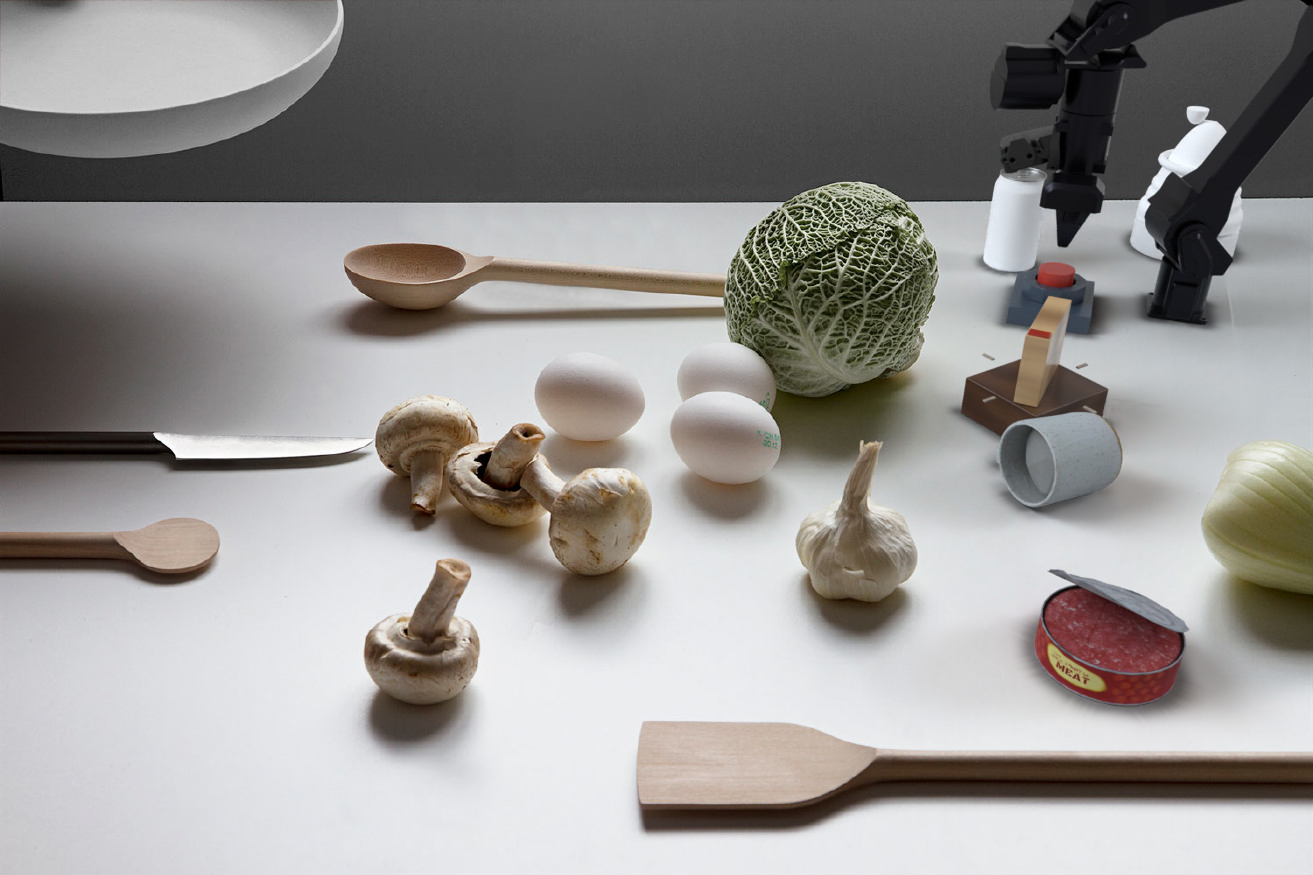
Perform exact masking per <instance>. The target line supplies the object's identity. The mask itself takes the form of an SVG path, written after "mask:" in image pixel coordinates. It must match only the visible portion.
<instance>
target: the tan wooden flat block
mask: <svg viewBox="0 0 1313 875" xmlns="http://www.w3.org/2000/svg"><path fill="white" fill-rule="evenodd" d="M1071 302H1072V300H1068V299H1063V298H1058V297H1052V296H1049V297H1048V298H1047V300H1046V302H1045V303H1044V305H1043V307H1042V308H1041V310H1040V312H1039V313H1038V315H1037V317H1036V319H1035V320H1034V322H1033V324H1032V325H1031V327H1029V329H1028V330H1027V332H1026V334H1025V336H1024V342H1023V347H1022V353H1021V358H1020V359H1021V363H1020V368H1019V374H1018V379H1017V385H1016V390H1015V396H1014V402H1016V403H1020V404H1024V405H1029V406H1033V407H1037V406H1038V404H1039V402H1040V400H1041V398H1042V396H1043V394H1044V392H1045V390H1046V388H1047V386H1048V385H1049V383H1050V381H1051V379H1052V377H1053V375H1054V373H1055V371H1056V369H1057V367H1058V365H1059V364H1060V362H1061V355H1062V350H1063V346H1064V342H1065V341H1064V340H1065V336H1066V333H1067V332H1066V327H1067V322H1068V317H1069V312H1070V307H1071Z"/></svg>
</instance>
